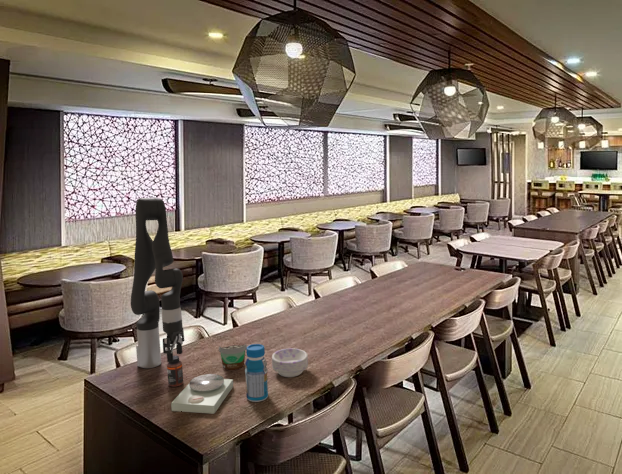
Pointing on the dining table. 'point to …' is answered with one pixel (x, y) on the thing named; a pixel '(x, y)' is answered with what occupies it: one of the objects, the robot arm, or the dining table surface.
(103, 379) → the dining table surface
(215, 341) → the dining table surface
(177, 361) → the supplement bottle
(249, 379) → the beverage bottle
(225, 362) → the food container
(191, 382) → the scale pan
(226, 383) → the scale base
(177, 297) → the robot arm
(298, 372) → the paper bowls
